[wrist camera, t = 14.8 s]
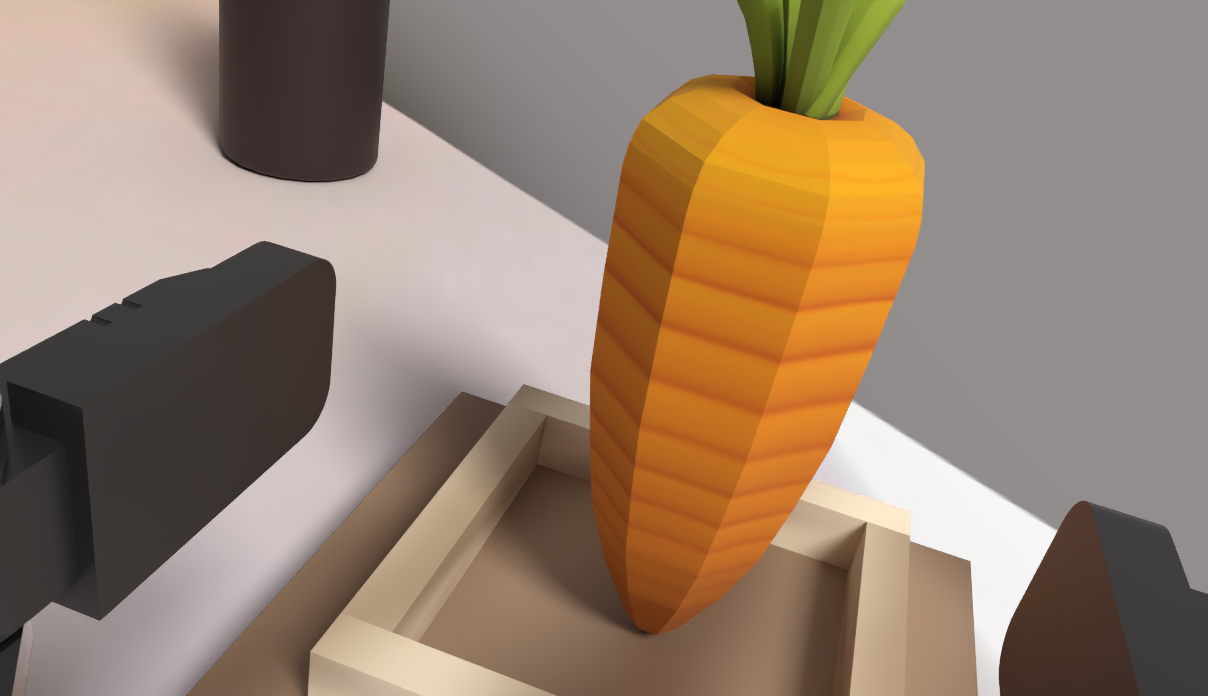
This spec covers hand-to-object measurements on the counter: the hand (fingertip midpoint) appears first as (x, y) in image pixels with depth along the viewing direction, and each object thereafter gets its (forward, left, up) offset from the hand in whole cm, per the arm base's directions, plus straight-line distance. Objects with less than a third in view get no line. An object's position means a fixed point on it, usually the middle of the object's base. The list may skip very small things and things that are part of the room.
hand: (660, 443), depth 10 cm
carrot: (0, +7, -9) cm, 11 cm away
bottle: (-22, +29, -11) cm, 38 cm away
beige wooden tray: (0, +7, -10) cm, 13 cm away
